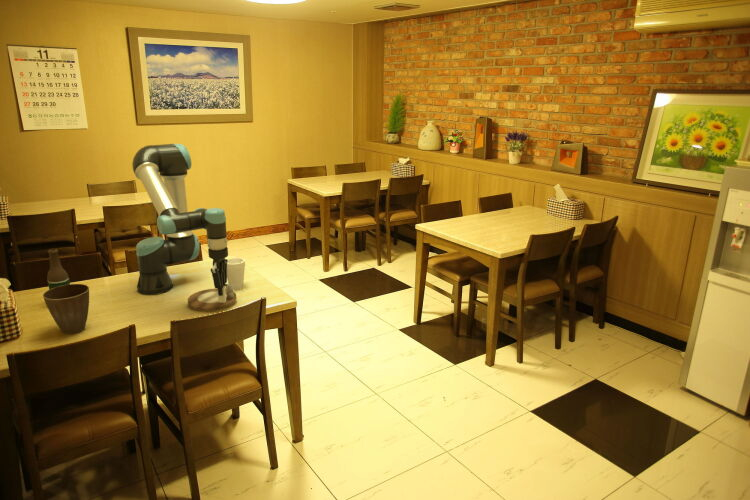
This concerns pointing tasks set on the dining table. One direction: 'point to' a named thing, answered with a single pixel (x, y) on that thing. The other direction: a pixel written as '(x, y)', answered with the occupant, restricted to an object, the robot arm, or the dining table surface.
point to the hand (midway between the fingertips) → (222, 301)
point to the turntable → (211, 299)
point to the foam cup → (236, 272)
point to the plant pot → (68, 306)
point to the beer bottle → (56, 271)
